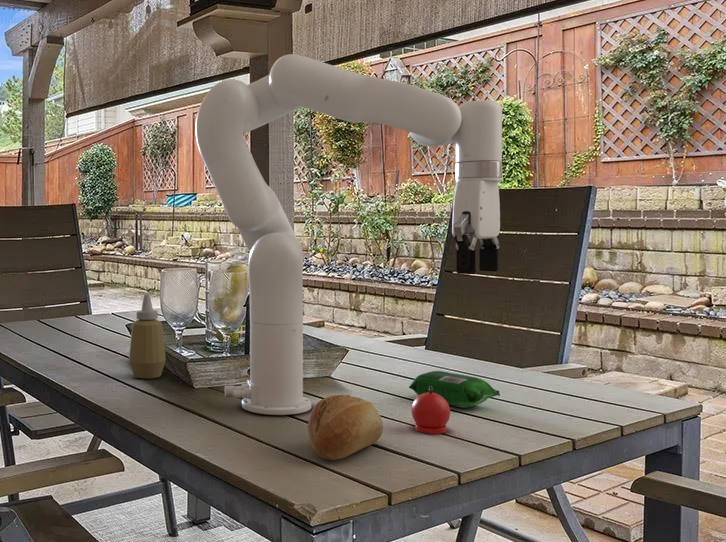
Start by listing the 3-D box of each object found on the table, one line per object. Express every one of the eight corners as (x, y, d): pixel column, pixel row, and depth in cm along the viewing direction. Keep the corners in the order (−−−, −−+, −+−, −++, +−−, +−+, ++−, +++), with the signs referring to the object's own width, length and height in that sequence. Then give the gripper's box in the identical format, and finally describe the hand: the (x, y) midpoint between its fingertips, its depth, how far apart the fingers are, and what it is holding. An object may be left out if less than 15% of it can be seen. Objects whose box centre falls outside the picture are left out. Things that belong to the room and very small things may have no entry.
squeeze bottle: (164, 380, 160) (164, 296, 160) (126, 380, 160) (126, 296, 160) (166, 372, 168) (166, 292, 168) (130, 373, 169) (130, 292, 168)
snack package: (478, 415, 131) (478, 385, 131) (406, 397, 143) (406, 370, 143) (502, 409, 135) (502, 380, 135) (429, 393, 147) (430, 366, 147)
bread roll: (291, 459, 106) (291, 403, 106) (334, 434, 119) (334, 384, 119) (355, 471, 101) (355, 412, 101) (393, 444, 113) (393, 391, 113)
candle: (419, 435, 118) (419, 390, 118) (405, 425, 124) (406, 382, 124) (456, 434, 119) (456, 389, 118) (441, 424, 125) (441, 381, 124)
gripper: (477, 176, 139) (476, 269, 139) (435, 172, 126) (435, 274, 127) (518, 174, 134) (517, 270, 134) (480, 169, 121) (479, 276, 122)
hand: (477, 272), depth 130 cm, fingers open, 9 cm apart
